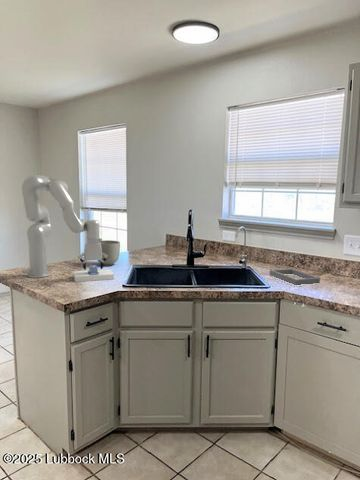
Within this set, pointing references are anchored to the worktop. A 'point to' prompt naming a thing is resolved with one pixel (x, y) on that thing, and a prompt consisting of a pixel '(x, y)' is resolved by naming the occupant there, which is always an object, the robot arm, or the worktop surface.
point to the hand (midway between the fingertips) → (93, 269)
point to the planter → (110, 251)
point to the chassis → (86, 277)
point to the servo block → (93, 270)
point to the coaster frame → (308, 278)
